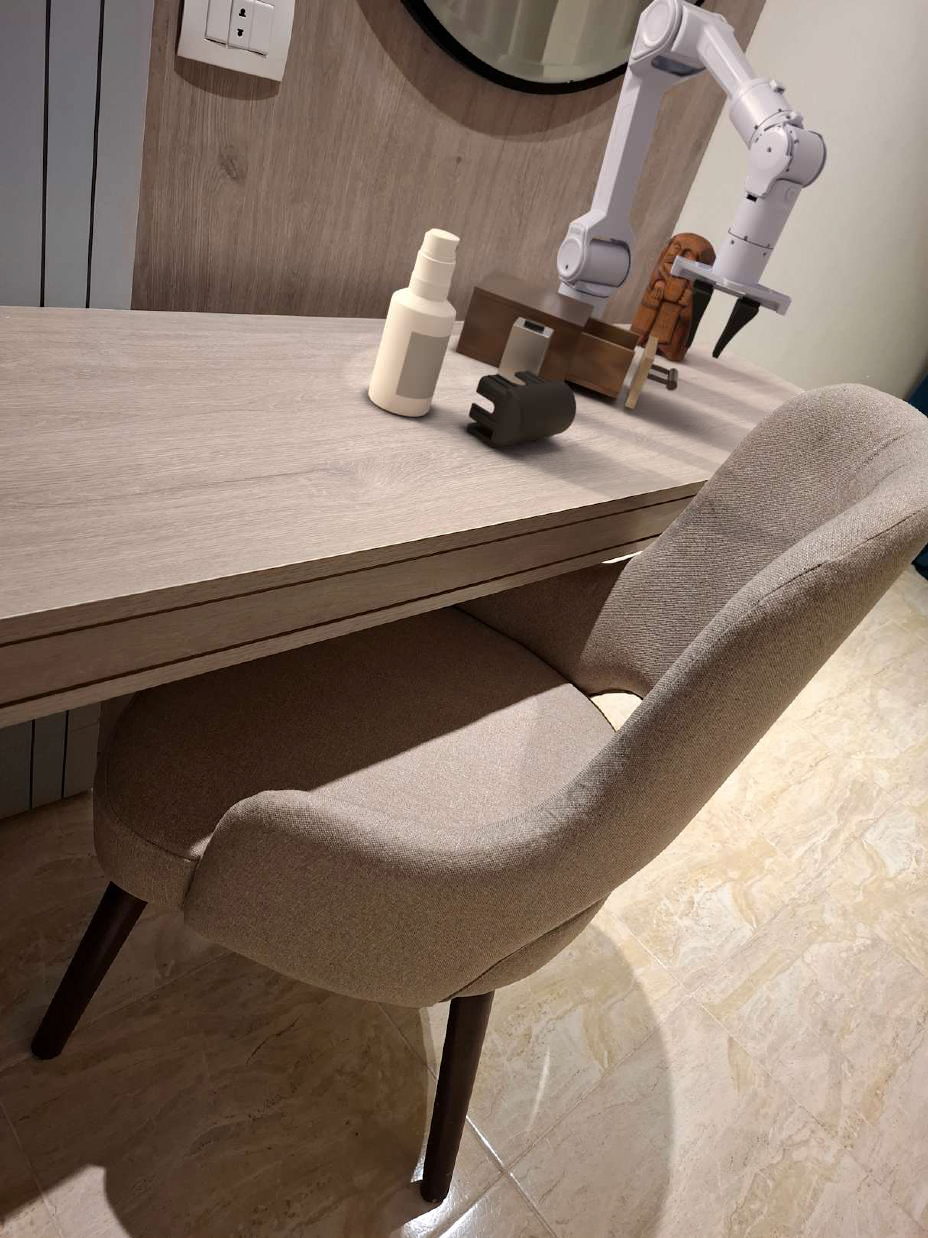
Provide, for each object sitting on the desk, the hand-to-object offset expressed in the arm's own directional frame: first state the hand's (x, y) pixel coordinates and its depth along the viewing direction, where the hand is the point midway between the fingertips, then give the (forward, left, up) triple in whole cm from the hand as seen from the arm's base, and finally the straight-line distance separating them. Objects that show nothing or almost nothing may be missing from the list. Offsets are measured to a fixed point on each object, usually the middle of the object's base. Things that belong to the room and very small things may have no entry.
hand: (700, 350), depth 113 cm
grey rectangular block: (+10, -20, -10) cm, 24 cm away
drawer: (-5, -10, -9) cm, 14 cm away
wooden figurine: (-36, -4, -11) cm, 38 cm away
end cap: (+24, -17, -11) cm, 31 cm away
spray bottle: (+26, -30, -11) cm, 41 cm away
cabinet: (-4, -22, -10) cm, 25 cm away
